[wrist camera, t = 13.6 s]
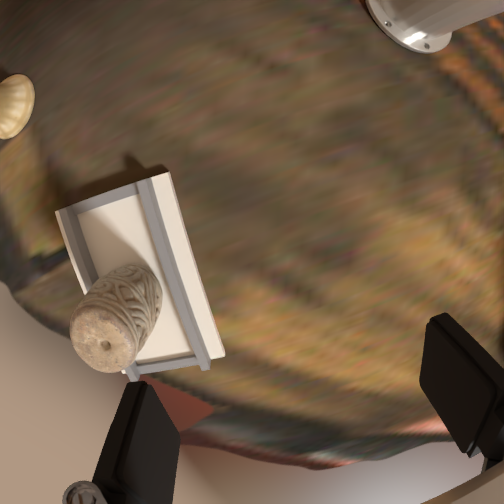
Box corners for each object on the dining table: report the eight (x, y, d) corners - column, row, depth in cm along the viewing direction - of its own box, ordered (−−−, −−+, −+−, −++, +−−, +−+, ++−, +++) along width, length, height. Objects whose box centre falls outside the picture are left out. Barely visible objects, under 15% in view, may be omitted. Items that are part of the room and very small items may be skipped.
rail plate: (58, 210, 31) (45, 215, 28) (169, 171, 31) (163, 173, 28) (124, 369, 38) (118, 383, 35) (225, 351, 37) (225, 366, 35)
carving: (144, 245, 32) (104, 293, 20) (177, 305, 34) (157, 372, 23) (98, 269, 32) (48, 320, 21) (131, 324, 34) (99, 390, 23)
